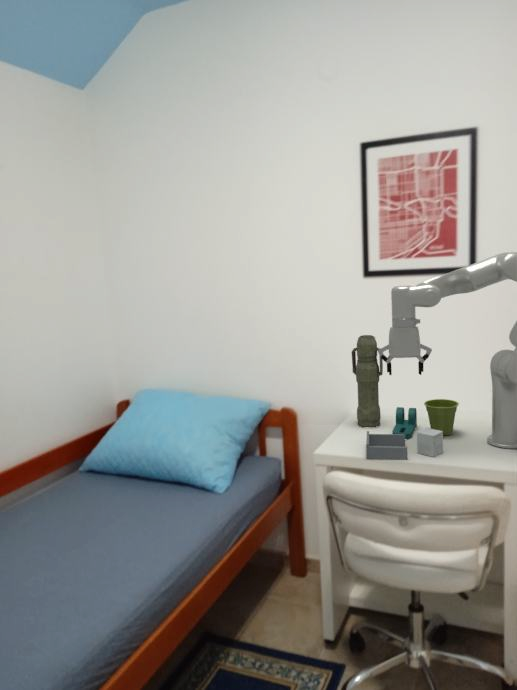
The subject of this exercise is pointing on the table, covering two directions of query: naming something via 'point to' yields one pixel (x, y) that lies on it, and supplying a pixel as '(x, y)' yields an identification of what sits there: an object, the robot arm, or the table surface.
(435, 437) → the product box
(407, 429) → the bracket
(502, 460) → the table surface
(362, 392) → the thermos
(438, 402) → the plant pot
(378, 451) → the box
